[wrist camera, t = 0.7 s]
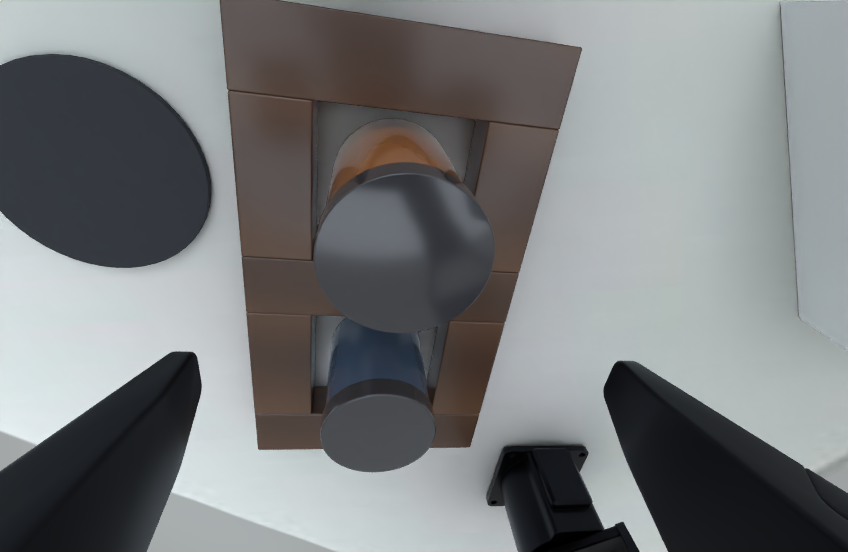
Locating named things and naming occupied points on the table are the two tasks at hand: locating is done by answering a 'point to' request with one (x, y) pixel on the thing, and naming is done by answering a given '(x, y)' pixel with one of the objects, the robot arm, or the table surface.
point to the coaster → (97, 163)
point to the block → (819, 158)
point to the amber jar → (400, 232)
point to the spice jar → (376, 400)
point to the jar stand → (297, 182)
